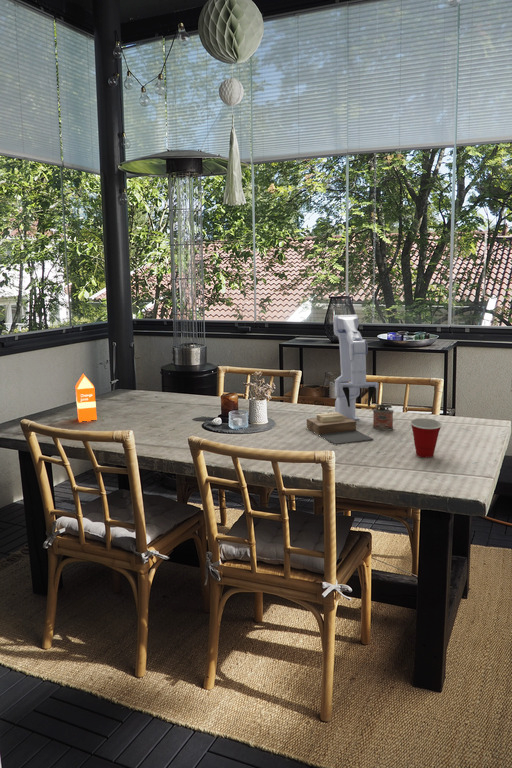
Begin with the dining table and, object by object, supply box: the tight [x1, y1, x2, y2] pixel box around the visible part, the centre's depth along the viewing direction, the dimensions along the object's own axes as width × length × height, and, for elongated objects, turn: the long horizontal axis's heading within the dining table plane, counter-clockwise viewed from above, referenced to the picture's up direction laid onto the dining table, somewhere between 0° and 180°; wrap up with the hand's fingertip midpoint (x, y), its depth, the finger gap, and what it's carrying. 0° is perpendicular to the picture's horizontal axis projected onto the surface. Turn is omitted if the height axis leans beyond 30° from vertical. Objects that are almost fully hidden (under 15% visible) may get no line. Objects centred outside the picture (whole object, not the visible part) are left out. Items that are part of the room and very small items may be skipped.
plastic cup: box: [409, 417, 443, 459], centre depth 229 cm, size 11×11×12 cm
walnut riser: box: [306, 416, 357, 436], centre depth 266 cm, size 12×16×4 cm
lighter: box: [372, 403, 394, 431], centre depth 266 cm, size 8×3×10 cm, turn 70°
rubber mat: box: [318, 429, 374, 445], centre depth 255 cm, size 14×16×1 cm
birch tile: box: [316, 411, 344, 422], centre depth 267 cm, size 6×9×2 cm, turn 109°
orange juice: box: [74, 373, 98, 423], centre depth 292 cm, size 8×9×20 cm
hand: (358, 406), depth 259 cm, fingers open, 7 cm apart
